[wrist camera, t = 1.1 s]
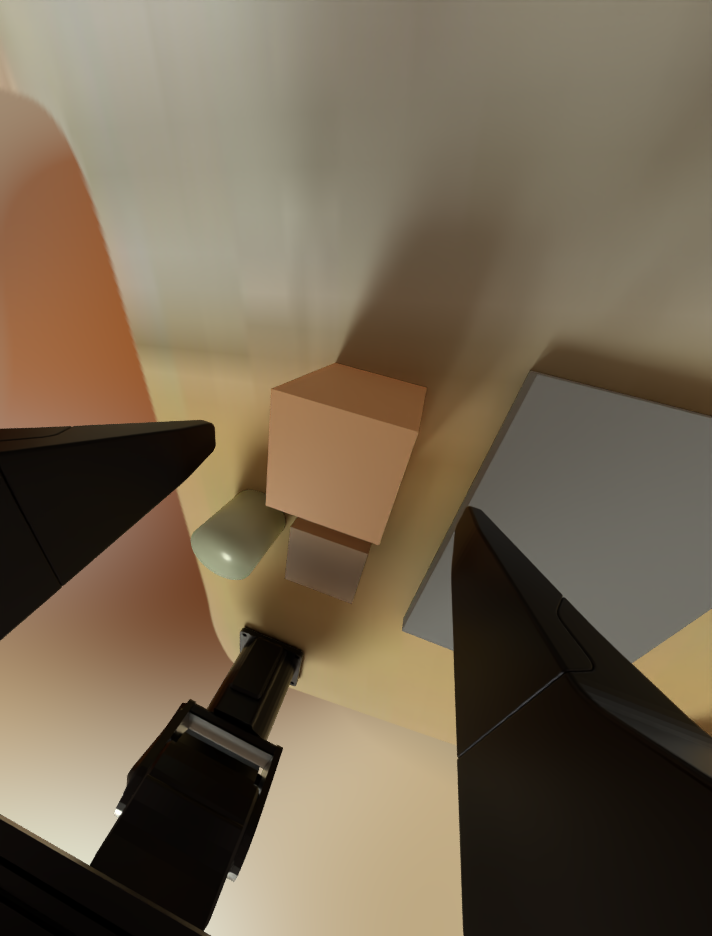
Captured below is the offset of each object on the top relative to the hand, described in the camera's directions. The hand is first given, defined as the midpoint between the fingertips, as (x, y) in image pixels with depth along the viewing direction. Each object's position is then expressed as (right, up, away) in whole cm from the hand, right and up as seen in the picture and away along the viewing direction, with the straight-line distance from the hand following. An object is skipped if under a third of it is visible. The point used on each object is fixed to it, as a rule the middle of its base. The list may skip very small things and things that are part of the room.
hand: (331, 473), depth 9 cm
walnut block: (0, -3, +8) cm, 9 cm away
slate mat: (+12, -5, +6) cm, 14 cm away
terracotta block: (+1, +3, +5) cm, 6 cm away
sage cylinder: (-6, -3, +10) cm, 12 cm away
